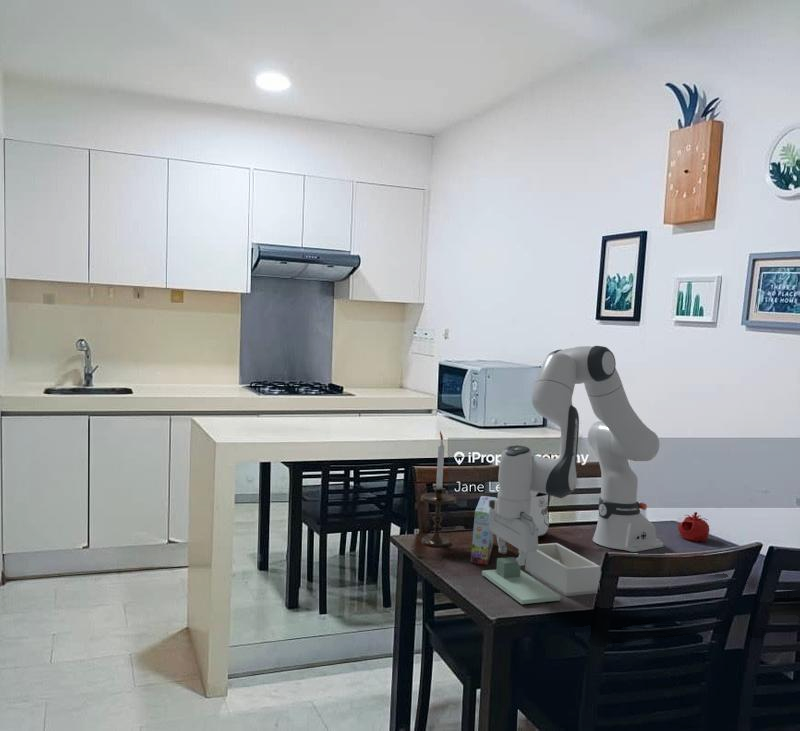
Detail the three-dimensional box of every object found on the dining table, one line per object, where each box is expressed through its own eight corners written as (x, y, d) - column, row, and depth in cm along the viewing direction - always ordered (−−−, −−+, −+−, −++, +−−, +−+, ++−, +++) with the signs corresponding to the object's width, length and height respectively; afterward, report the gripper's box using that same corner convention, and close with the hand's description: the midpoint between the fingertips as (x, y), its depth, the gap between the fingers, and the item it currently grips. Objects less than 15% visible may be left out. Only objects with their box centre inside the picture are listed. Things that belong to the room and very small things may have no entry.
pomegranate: (703, 536, 240) (705, 509, 240) (713, 544, 230) (715, 516, 230) (673, 533, 241) (676, 506, 241) (682, 541, 231) (684, 513, 231)
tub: (555, 567, 199) (557, 543, 199) (598, 593, 180) (600, 566, 180) (525, 569, 195) (526, 545, 195) (565, 596, 177) (567, 569, 176)
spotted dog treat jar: (559, 539, 227) (562, 484, 226) (516, 544, 219) (519, 487, 218) (525, 524, 242) (528, 473, 241) (484, 529, 234) (487, 476, 233)
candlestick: (411, 542, 215) (417, 430, 213) (430, 535, 224) (436, 427, 222) (442, 550, 209) (448, 434, 207) (460, 542, 218) (466, 431, 216)
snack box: (489, 565, 198) (492, 513, 197) (469, 563, 199) (472, 511, 198) (494, 543, 218) (497, 496, 218) (476, 541, 220) (479, 494, 219)
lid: (517, 573, 193) (518, 553, 192) (560, 602, 173) (561, 580, 173) (481, 576, 189) (482, 556, 188) (521, 606, 169) (522, 583, 169)
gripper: (545, 517, 177) (542, 571, 177) (505, 497, 196) (503, 546, 197) (523, 519, 174) (521, 573, 175) (485, 498, 193) (483, 547, 194)
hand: (511, 558), depth 186 cm, fingers open, 8 cm apart
